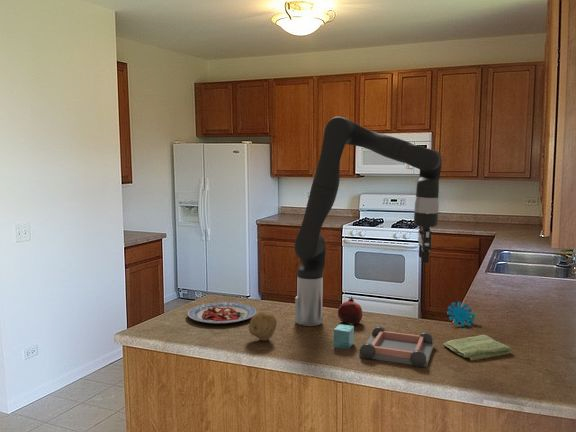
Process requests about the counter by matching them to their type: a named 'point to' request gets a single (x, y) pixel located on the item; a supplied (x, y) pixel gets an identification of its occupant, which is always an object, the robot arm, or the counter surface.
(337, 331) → the teal glassy cube
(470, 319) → the gear
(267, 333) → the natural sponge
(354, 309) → the fruit
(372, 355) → the chassis
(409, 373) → the counter surface
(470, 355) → the washcloth
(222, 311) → the ceramic plate
